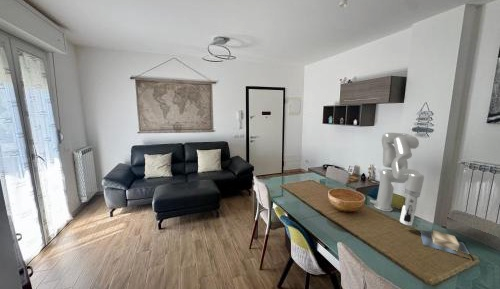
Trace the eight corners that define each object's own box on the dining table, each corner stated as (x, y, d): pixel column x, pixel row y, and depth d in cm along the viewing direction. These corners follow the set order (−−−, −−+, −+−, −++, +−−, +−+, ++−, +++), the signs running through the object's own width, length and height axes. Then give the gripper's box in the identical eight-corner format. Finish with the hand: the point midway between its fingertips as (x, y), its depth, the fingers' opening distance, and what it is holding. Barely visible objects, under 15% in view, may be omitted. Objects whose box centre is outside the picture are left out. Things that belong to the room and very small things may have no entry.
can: (406, 226, 128) (410, 208, 125) (397, 220, 134) (400, 203, 132) (414, 225, 130) (418, 207, 127) (404, 219, 136) (408, 202, 133)
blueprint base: (423, 245, 118) (424, 237, 117) (419, 231, 133) (421, 224, 132) (472, 260, 107) (474, 252, 106) (462, 243, 122) (464, 236, 121)
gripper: (421, 199, 119) (415, 227, 122) (418, 189, 133) (412, 215, 136) (405, 195, 123) (399, 222, 126) (404, 186, 137) (399, 211, 140)
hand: (406, 218), depth 131 cm, fingers closed on can, 6 cm apart
